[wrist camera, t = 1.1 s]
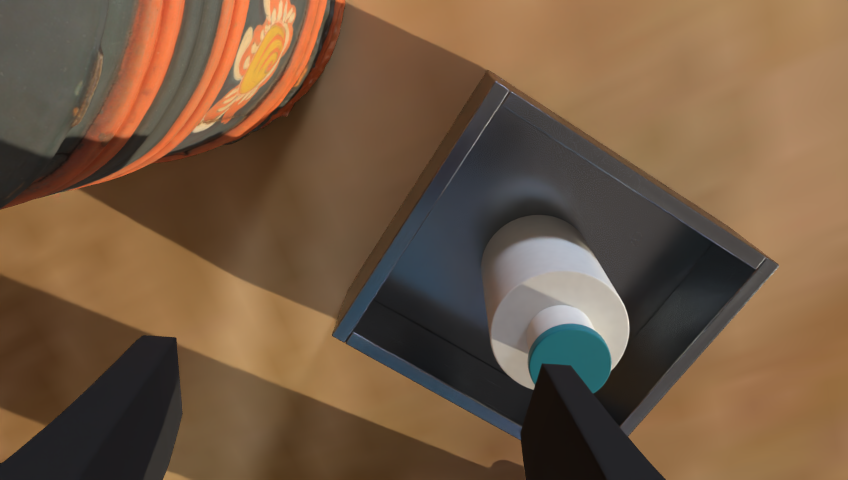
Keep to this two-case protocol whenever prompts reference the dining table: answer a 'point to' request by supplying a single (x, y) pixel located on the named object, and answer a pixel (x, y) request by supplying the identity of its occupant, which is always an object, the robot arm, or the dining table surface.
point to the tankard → (145, 82)
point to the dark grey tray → (562, 198)
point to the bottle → (550, 302)
